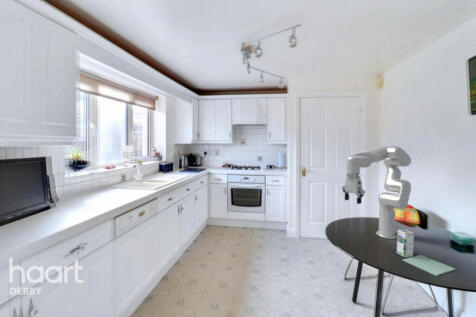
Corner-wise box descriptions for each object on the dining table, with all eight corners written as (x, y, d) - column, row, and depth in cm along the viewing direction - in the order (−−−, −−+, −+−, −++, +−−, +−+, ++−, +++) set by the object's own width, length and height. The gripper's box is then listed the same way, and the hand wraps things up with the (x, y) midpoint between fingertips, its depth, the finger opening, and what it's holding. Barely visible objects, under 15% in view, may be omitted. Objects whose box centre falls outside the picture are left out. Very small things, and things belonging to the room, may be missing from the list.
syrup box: (396, 252, 133) (397, 229, 132) (405, 252, 133) (406, 229, 133) (404, 257, 127) (405, 233, 126) (413, 257, 128) (414, 232, 127)
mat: (420, 255, 129) (420, 254, 129) (455, 269, 114) (455, 268, 114) (402, 260, 124) (402, 259, 124) (436, 276, 109) (436, 274, 109)
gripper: (369, 177, 134) (368, 204, 135) (347, 173, 150) (346, 198, 151) (360, 177, 131) (359, 205, 132) (338, 174, 147) (338, 199, 148)
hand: (352, 201), depth 142 cm, fingers open, 9 cm apart
